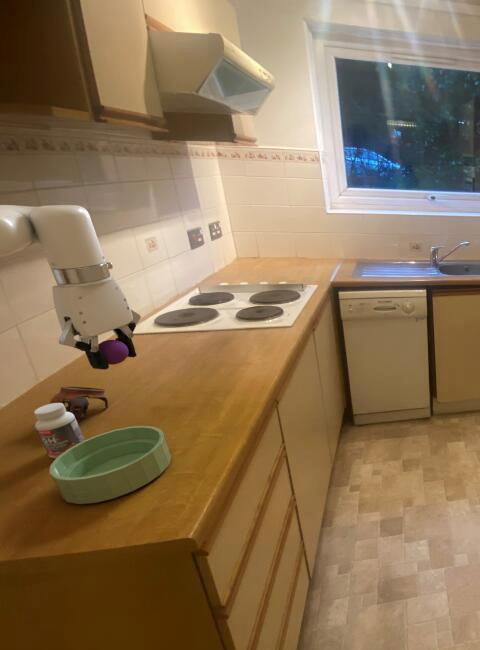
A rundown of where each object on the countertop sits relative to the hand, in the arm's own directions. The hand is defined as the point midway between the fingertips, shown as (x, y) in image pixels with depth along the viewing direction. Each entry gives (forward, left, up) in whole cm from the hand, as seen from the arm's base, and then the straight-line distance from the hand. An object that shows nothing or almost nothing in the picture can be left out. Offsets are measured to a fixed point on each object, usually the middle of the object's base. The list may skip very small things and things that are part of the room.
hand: (115, 361), depth 87 cm
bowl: (+12, -14, -15) cm, 24 cm away
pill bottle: (-5, -10, -16) cm, 19 cm away
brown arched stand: (-15, 0, -16) cm, 22 cm away
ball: (0, 0, +2) cm, 2 cm away
